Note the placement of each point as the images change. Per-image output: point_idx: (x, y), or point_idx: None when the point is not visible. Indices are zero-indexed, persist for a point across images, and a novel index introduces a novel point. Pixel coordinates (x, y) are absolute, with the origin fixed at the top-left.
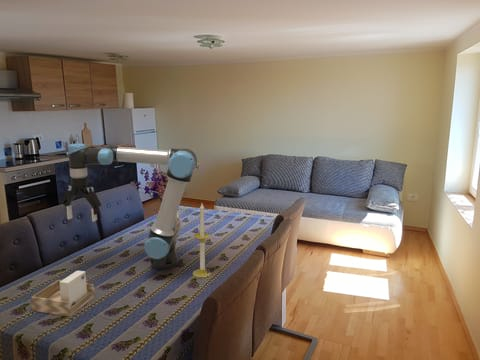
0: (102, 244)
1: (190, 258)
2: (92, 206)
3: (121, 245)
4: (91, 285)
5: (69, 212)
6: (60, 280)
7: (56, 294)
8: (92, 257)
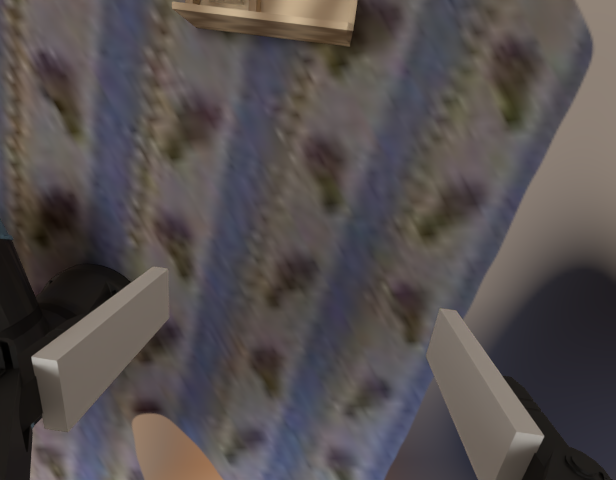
0: (384, 432)
1: None
2: (6, 387)
3: (314, 428)
4: (179, 3)
5: (461, 371)
6: (338, 23)
7: (340, 2)
8: (369, 334)
